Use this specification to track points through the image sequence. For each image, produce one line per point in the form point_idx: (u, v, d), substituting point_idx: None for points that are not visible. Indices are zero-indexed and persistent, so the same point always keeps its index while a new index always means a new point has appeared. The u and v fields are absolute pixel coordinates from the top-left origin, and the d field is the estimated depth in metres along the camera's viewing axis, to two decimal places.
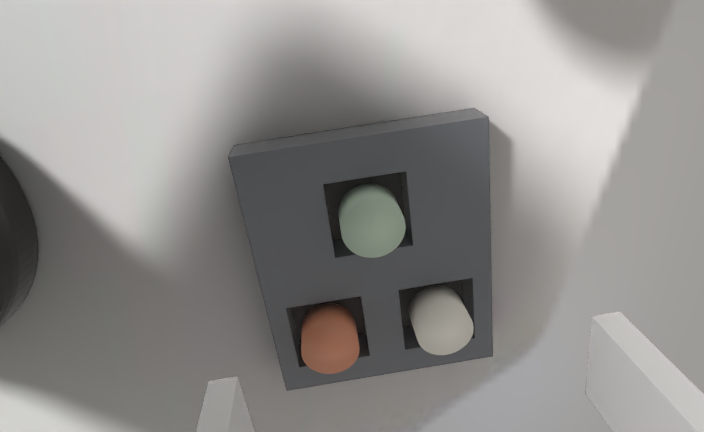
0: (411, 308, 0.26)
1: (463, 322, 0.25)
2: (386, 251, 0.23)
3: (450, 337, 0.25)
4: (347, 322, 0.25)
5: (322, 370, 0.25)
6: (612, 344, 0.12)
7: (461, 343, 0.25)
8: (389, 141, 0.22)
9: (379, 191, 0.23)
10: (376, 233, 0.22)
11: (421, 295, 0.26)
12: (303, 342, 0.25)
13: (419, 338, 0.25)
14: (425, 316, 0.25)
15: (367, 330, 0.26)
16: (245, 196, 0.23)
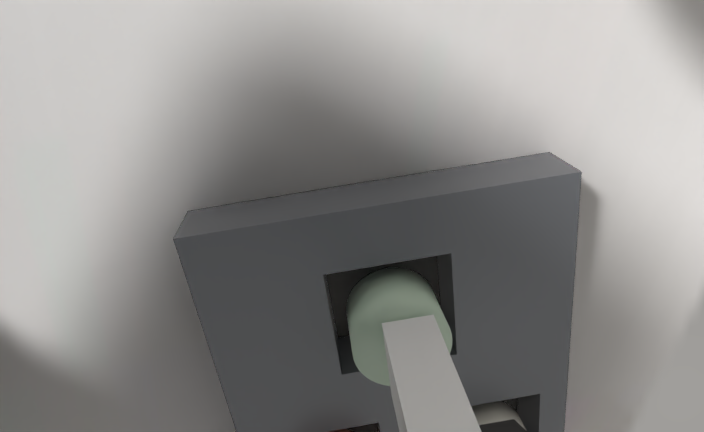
0: None
1: None
2: None
3: None
4: None
5: None
6: (414, 345, 0.13)
7: None
8: (427, 210, 0.14)
9: (410, 285, 0.15)
10: None
11: None
12: None
13: None
14: None
15: None
16: (203, 295, 0.15)
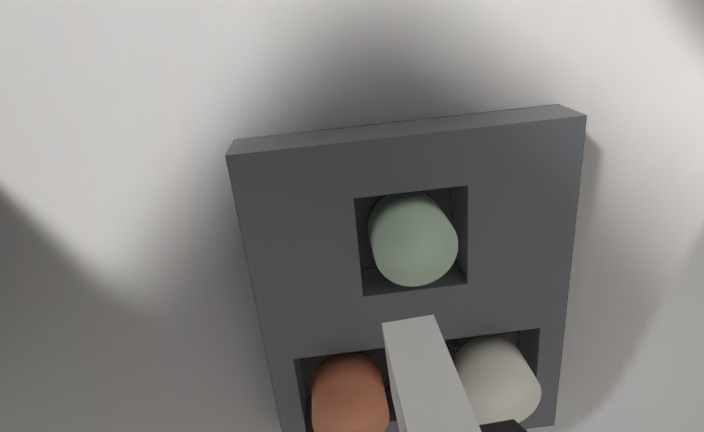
0: (456, 363, 0.20)
1: (528, 387, 0.19)
2: (430, 279, 0.18)
3: (510, 406, 0.19)
4: (374, 381, 0.19)
5: None
6: (414, 345, 0.13)
7: (523, 414, 0.19)
8: (449, 143, 0.16)
9: (425, 200, 0.17)
10: (419, 255, 0.17)
11: (471, 347, 0.20)
12: (315, 407, 0.18)
13: None
14: (479, 379, 0.18)
15: None
16: (246, 210, 0.16)
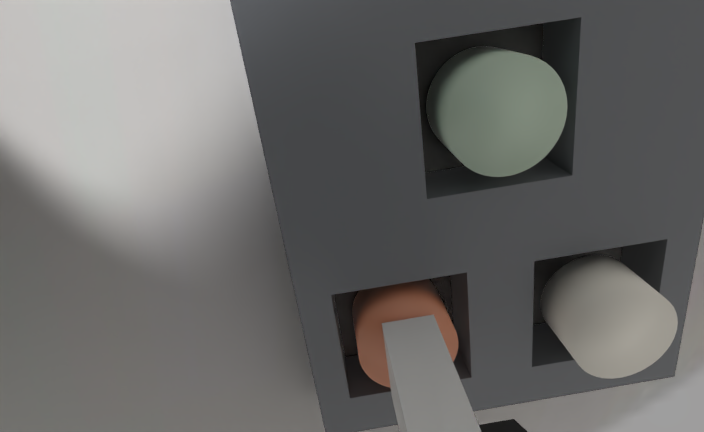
0: (550, 295, 0.15)
1: (661, 318, 0.13)
2: (525, 164, 0.12)
3: (633, 346, 0.14)
4: (436, 300, 0.15)
5: None
6: (414, 345, 0.13)
7: (650, 358, 0.14)
8: None
9: (513, 51, 0.12)
10: (511, 127, 0.12)
11: (571, 271, 0.15)
12: (363, 335, 0.14)
13: (578, 349, 0.14)
14: (594, 308, 0.13)
15: (472, 334, 0.15)
16: (259, 66, 0.11)
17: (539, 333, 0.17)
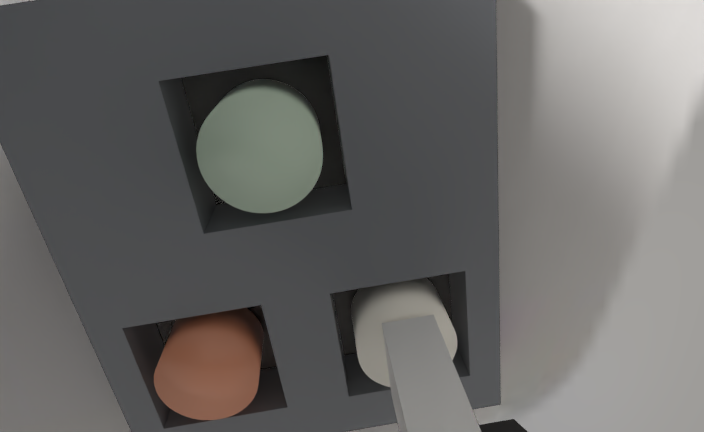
0: (353, 308, 0.16)
1: None
2: (290, 201, 0.12)
3: None
4: (238, 331, 0.15)
5: (197, 414, 0.15)
6: (415, 345, 0.13)
7: None
8: None
9: (275, 87, 0.12)
10: (267, 164, 0.12)
11: None
12: (156, 368, 0.14)
13: (363, 360, 0.14)
14: (370, 322, 0.14)
15: (279, 365, 0.15)
16: None
17: None
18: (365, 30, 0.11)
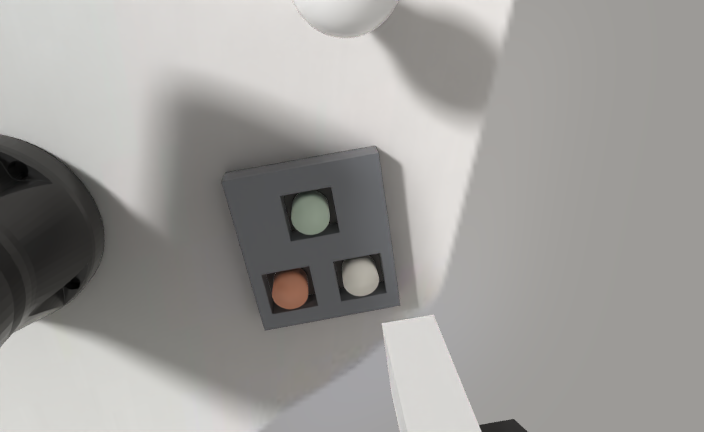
0: (342, 267, 0.42)
1: (371, 274, 0.40)
2: (319, 230, 0.38)
3: (365, 284, 0.40)
4: (300, 276, 0.40)
5: (286, 306, 0.41)
6: (414, 345, 0.13)
7: (372, 288, 0.41)
8: (319, 169, 0.37)
9: (314, 195, 0.38)
10: (312, 219, 0.38)
11: (348, 259, 0.41)
12: (273, 288, 0.40)
13: (345, 285, 0.40)
14: (347, 271, 0.40)
15: (315, 288, 0.41)
16: (232, 204, 0.37)
17: None
18: (341, 179, 0.37)
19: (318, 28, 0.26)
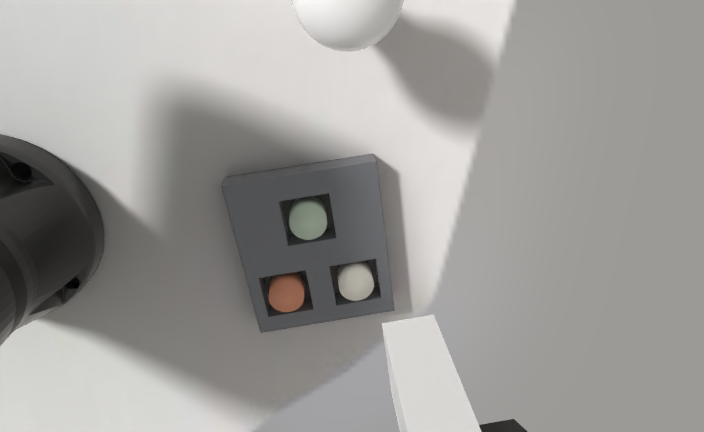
0: (338, 272, 0.42)
1: (367, 279, 0.41)
2: (316, 236, 0.39)
3: (360, 288, 0.41)
4: (297, 280, 0.41)
5: (282, 309, 0.41)
6: (415, 345, 0.13)
7: (367, 293, 0.41)
8: (317, 175, 0.37)
9: (312, 200, 0.39)
10: (310, 225, 0.38)
11: (344, 264, 0.42)
12: (269, 291, 0.41)
13: (340, 289, 0.41)
14: (343, 275, 0.41)
15: (311, 292, 0.41)
16: (232, 208, 0.38)
17: None
18: (339, 186, 0.38)
19: (320, 41, 0.27)
